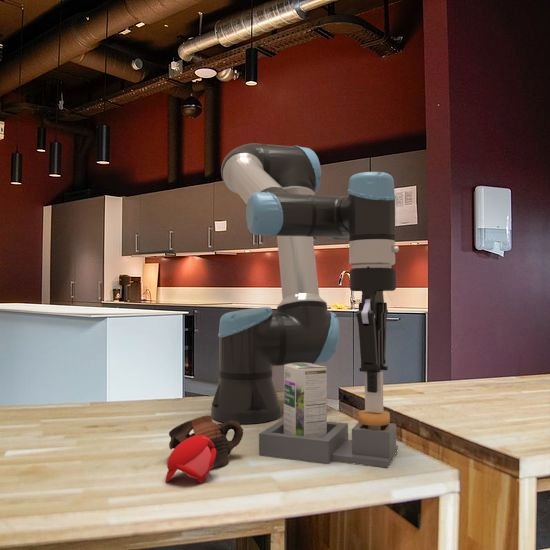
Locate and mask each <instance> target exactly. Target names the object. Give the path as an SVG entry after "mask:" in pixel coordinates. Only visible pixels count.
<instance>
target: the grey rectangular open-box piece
mask: <svg viewBox="0 0 550 550" xmlns="http://www.w3.org/2000/svg"><path fill="white" fill-rule="evenodd" d="M380 427H381V430H374V429H368V425H365V424H361V423H359V421H358V422H357V423H356V424H355V425H354V426H353V427H352V428H351V439H350V440H349V423H345V422H336V421H327V434H326V435H325V436H324V437H323V438H318V437H308V436H299V435H290V434H284V418H282V419H281V420H279V421H278V422H276V423H275V424H273V425H271V426H269V427H267V428H266V429H265V430H263V431H261V432H260V433H258V455H259V456H264V457H271V458H279V459H287V460H288V459H289V460H296V461H303V462H309V463H312V462H313V463H319V464H327V465H329V464H331V463H332V462H335V461H336V463H337V462H338V463H343V462H347V463H346V464H351V463H355V464H354V465H359V464H363V465H362V466H368V465H370V466H369V467H376V466H380V467H379V468H384V467H388V466H389V467H390V465H391V464H390V463H392V462H393V460H394V459H393V457H394V455H395V453H396V452H397V450H398V451H399V445H398V444H397V423H394V422H390V423H389V424H387V425H382V426H380ZM397 453H398V452H397ZM395 456H396V455H395ZM394 458H395V457H394ZM392 459H393V460H392ZM391 461H392V462H391ZM389 467H388V468H389Z"/></svg>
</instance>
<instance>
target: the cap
mask: <svg viewBox="0 0 550 550" xmlns="http://www.w3.org/2000/svg"><path fill="white" fill-rule="evenodd" d="M215 457H216V449H215V448H214V444H213V443H212V441H210V439H209V438H208V437H207V436H205V435H195V436H192V437H189V438H187V439H186V440H184V441H182V442H181V443H180V444H179V445H178V446H177V447H176V448H175V449H172V450H171V453H170V455H169V456H168V458H167V463H166V464H167V473H166V475H165V483H168V482H170V480H171V479H172V478H173V477H174V475H175V474H176V473H177V472H178V471H181V472H183V473H185V474H186V475H187V476H188V477H190V478H192V479H196V481H197V483H205V482H206V479H207V476H208V475H209V472H210V471H211V469H212V468H211V467H212V465H213V463H214V460H215Z"/></svg>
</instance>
